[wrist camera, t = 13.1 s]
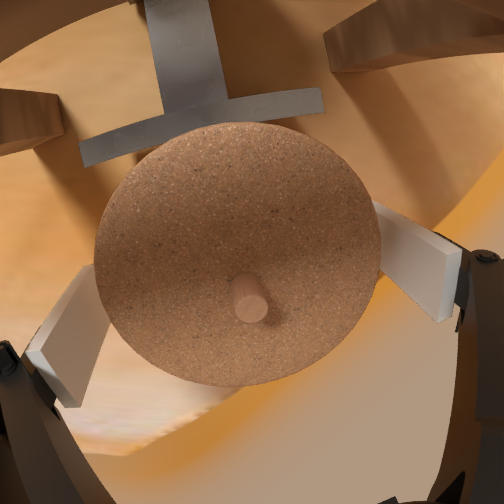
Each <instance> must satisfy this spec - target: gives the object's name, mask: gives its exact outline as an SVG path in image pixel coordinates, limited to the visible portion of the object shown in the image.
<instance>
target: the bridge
mask: <svg viewBox="0 0 504 504" xmlns="http://www.w3.org/2000/svg"><path fill="white" fill-rule="evenodd" d="M128 1H131V0H0V62H2V61H3V60H5V59H6V58H8V57H10V56H11V55H13V54H14V53H16V52H18V51H19V50H21V49H23V48H24V47H26V46H28V45H30V44H31V43H33V42H35V41H37V40H39V39H40V38H42V37H44V36H46V35H48V34H50V33H52V32H54V31H56V30H58V29H60V28H62V27H64V26H66V25H69V24H71V23H73V22H75V21H77V20H80V19H82V18H84V17H87V16H89V15H92V14H94V13H97V12H99V11H102V10H105V9H107V8H110V7H113V6H116V5H119V4H122V3H125V2H128ZM323 36H324V40H325V45H326V49H327V54H328V59H329V63H330V68H331V72H364V71H372V70H377V69H381V68H386V67H391V66H396V65H401V64H406V63H412V62H417V61H423V60H430V59H437V58H444V57H452V56H461V55H471V54H483V53H501V52H504V0H378V1H376V2H374V3H373V4H371V5H369V6H367V7H366V8H364V9H362V10H360V11H359V12H357V13H355V14H354V15H352V16H350V17H349V18H347V19H346V20H344V21H342V22H341V23H339V24H338V25H336V26H334V27H333V28H331V29H330V30H328V31H327V32H325V33H324V34H323ZM63 134H65V131H64V127H63V122H62V117H61V112H60V107H59V102H58V96H57V94H51V93H43V92H34V91H25V90H14V89H2V88H0V156H4V155H8V154H12V153H16V152H20V151H24V150H28V149H32V148H34V147H36V146H38V145H41V144H43V143H45V142H47V141H49V140H51V139H54V138H56V137H58V136H60V135H63Z"/></svg>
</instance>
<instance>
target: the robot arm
mask: <svg viewBox="0 0 504 504" xmlns="http://www.w3.org/2000/svg"><path fill="white" fill-rule="evenodd" d="M371 200H372V199H371ZM372 202H373V205H374V208H375V211H376V214H377V216H378V222H379V227H380V233H381V262H380V268H379V269H380V270H381V271H382V272H383V273H385V274H386V275H387V276H388V277H389V278H390V279H391V280H392V281H393V282H394V283H395V284H397V285H398V286H399V287H400V288H401V289H402V290H403V291H404V292H405V293H406V294H407V295H408V296H409V297H410V298H411V299H412V300H414V301H415V302H416V303H417V304H418V305H419V306H420V307H421V308H422V309H423V310H424V311H425V312H426V313H427V314H428V315H429V316H430V317H431V318H432V319H433V320H434V321H435V322H436V323H438V322H441V321H443V320H445V319H447V318H450V317H451V316H452V312H453V307H454V303H456V304H457V305H458V306H459V307H460V313H459V318H458V322H457V326H456V330H455V332H458V354H457V355H458V356H457V370H456V380H455V389H454V397H453V404H452V411H451V418H450V424H449V429H448V435H447V440H446V444H445V449H444V453H443V458H442V462H441V466H440V470H439V473H438V476H437V478H436V481H435V483H434V485H433V487H432V489H431V491H430V493H429V496H428V498H427V501H413V502H404V503H398V501H397V499H396V497H395V496H394V497H392V498H390V499H388V500H385V501H383V502H381V503H378V504H504V259H501V258H500V257H499V256H498V255H497V254H496V253H494V252H491V251H488V250H475V251H472V252H470V251H468V250H467V249H465V248H463V247H462V246H460V245H458V244H457V243H455V242H453V241H452V240H450V239H448V238H446V237H445V236H443V235H441V234H440V233H437V232H434V231H430V230H428V229H427V228H425V227H423V226H421V225H419V224H418V223H416V222H414V221H412V220H410V219H408V218H407V217H405V216H403V215H401V214H399V213H397V212H395V211H393V210H391V209H390V208H388V207H386V206H384V205H382V204H380V203H378V202H376V201H374V200H372ZM110 323H111V321H110V319H109V317H108V315H107V313H106V311H105V309H104V307H103V305H102V303H101V299H100V296H99V292H98V289H97V285H96V280H95V270H94V264H91V265H87V266H83V267H82V269H81V270H80V271H79V273H78V274H77V275H76V277H75V278H74V279H73V281H72V282H71V283H70V285H69V286H68V287H67V289H66V290H65V292H64V293H63V294H62V296H61V297H60V299H59V300H58V302H57V303H56V304H55V306H54V307H53V309H52V310H51V312H50V313H49V315H48V316H47V318H46V319H45V321H44V322H43V324H42V325H41V326H40V327H39V329H38V330H37V332H36V333H35V336H33V338H32V340H31V342H30V343H29V344H28V346H27V348H26V349H25V351H24V353H23V354H22V356H21V358H19V356H18V355H17V353H16V352H15V350H14V349H13V347H12V345H11V344H10V342H9V341H6V340H4V341H1V342H0V504H116V503H115V501H114V500H113V498H112V497H111V496H110V495H109V493H108V491H107V490H106V489H105V488H104V486H103V485H102V483H101V482H100V480H99V479H98V477H97V476H96V474H95V473H94V471H93V470H92V468H91V467H90V465H89V463H88V462H87V460H86V459H85V457H84V455H83V454H82V452H81V450H80V449H79V447H78V445H77V444H76V442H75V440H74V438H73V436H72V435H71V433H70V431H69V429H68V427H67V425H66V424H65V422H64V420H63V418H62V416H61V414H60V412H59V410H58V409H57V408H56V407H55V405H54V403H55V400H56V397H57V398H58V400H59V401H60V402H61V403H62V405H63V406H64V407H65V408H78V407H81V405H82V402H83V398H84V395H85V392H86V389H87V386H88V383H89V380H90V377H91V374H92V371H93V368H94V366H95V363H96V360H97V357H98V354H99V352H100V349H101V346H102V344H103V341H104V338H105V336H106V333H107V331H108V328H109V325H110Z"/></svg>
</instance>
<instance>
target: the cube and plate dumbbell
mask: <svg viewBox="0 0 504 504" xmlns="http://www.w3.org/2000/svg"><path fill="white" fill-rule="evenodd" d="M141 1H144V6H145V13H146V19H147V25H148V31H149V36H150V42H151V48H152V53H153V58H154V64H155V69H156V74H157V79H158V84H159V89H160V94H161V99H162V103H163V108H164V113H165V114H164V115H160V116H157V117H153V118H150V119H146V120H143V121H140V122H137V123H133V124H130V125H127V126H124V127H121V128H118V129H115V130H112V131H109V132H106V133H103V134H101V135H98V136H95V137H92V138H90V139H87V140H85V141H82V142H79V143H78V145H79V149H80V153H81V157H82V161H83V164H84V168H87V167H90V166H92V165H95V164H98V163H101V162H104V161H107V160H110V159H113V158H116V157H119V156H122V155H125V154H128V153H132V152H135V151H138V150H142V149H145V148H148V147H152V146H155V145H159V144H163V143H166V142H168V141H169V140H171V139H173V138H175V137H178V136H180V135H182V134H185V133H187V132H189V131H192V130H194V129H197V128H201V127H206V126H210V125H215V124H219V123H227V122H261V121H267V120H274V119H280V118H287V117H293V116H301V115H309V114H317V113H325V112H324V106H323V100H322V95H321V89H320V87H314V88H303V89H294V90H286V91H278V92H271V93H264V94H257V95H251V96H245V97H240V98H234V99H228V94H227V89H226V84H225V79H224V74H223V69H222V65H221V60H220V55H219V50H218V45H217V41H216V36H215V31H214V26H213V22H212V17H211V12H210V7H209V3H208V0H131V1H128V2H129V4H130V5H131V4H134V3H138V2H141Z"/></svg>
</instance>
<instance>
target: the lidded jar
mask: <svg viewBox="0 0 504 504" xmlns="http://www.w3.org/2000/svg"><path fill="white" fill-rule="evenodd" d="M380 262H381V233H380V227H379V222H378V216H377V214H376V211H375V208H374V205H373V202H372V200H371V197H370V195H369V194H368V192H367V190H366V188H365V187H364V185H363V183H362V181H361V180H360V178H359V177H358V176H357V174H356V173H355V172H354V171H353V170H352V169H351V167H350V166H349V165H348V164H347V163H346V162H345V161H344V160H343V159H342V158H341V157H340V156H338V155H337V154H336V153H335V152H333V151H332V150H331V149H330V148H328V147H327V146H326V145H324V144H322V143H320V142H319V141H317V140H315V139H313V138H311V137H309V136H308V135H306V134H304V133H301V132H298V131H295V130H292V129H289V128H286V127H283V126H279V125H273V124H266V123H259V122H227V123H219V124H215V125H210V126H206V127H201V128H197V129H194V130H192V131H189V132H187V133H185V134H182V135H180V136H178V137H175V138H173V139H171V140H169V141H168V142H166V143H164V144H163V145H161V146H160V147H158V148H157V149H155V150H154V151H152V152H151V153H149V154H148V155H146V156H145V157H144V158H143V159H142V160H141V161H140V162H139V163H138V164H137V165H136V166H135V167H134V168H132V169H131V170H130V171H129V172H128V173H127V175H126V176H125V177H124V179H123V180H122V181H121V183H120V184H119V185H118V187H117V188H116V190H115V191H114V192H113V194H112V196H111V198H110V200H109V202H108V204H107V206H106V208H105V210H104V212H103V214H102V217H101V220H100V224H99V227H98V231H97V235H96V239H95V250H94V270H95V280H96V285H97V289H98V292H99V296H100V299H101V303H102V305H103V307H104V309H105V311H106V313H107V315H108V317H109V319H110V321H111V323H112V324H113V326H114V327H115V328H116V330H117V331H118V333H119V334H120V335H121V337H122V338H123V339H124V340H125V341H126V342H127V343H128V344H129V345H130V346H131V347H132V348H133V349H134V350H135V351H136V352H137V353H138V354H139V355H141V356H142V357H143V358H144V359H146V360H147V361H148V362H150V363H151V364H152V365H154V366H156V367H158V368H160V369H162V370H163V371H165V372H167V373H169V374H172V375H174V376H177V377H179V378H182V379H184V380H188V381H192V382H196V383H200V384H206V385H213V386H221V387H233V386H249V385H257V384H262V383H266V382H270V381H274V380H278V379H280V378H283V377H286V376H289V375H292V374H294V373H296V372H298V371H300V370H302V369H304V368H306V367H308V366H309V365H311V364H313V363H315V362H316V361H318V360H319V359H321V358H322V357H324V356H325V355H327V354H328V353H329V352H330V351H331V350H332V349H333V348H335V347H336V346H337V345H338V344H339V343H340V342H341V341H342V340H343V339H344V338H345V337H346V335H348V333H349V332H350V331H351V330H352V329H353V328H354V326H355V325H356V323H357V322H358V320H359V319H360V317H361V316H362V314H363V313H364V311H365V309H366V307H367V305H368V303H369V301H370V299H371V297H372V295H373V291H374V288H375V285H376V282H377V278H378V274H379V268H380Z"/></svg>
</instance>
